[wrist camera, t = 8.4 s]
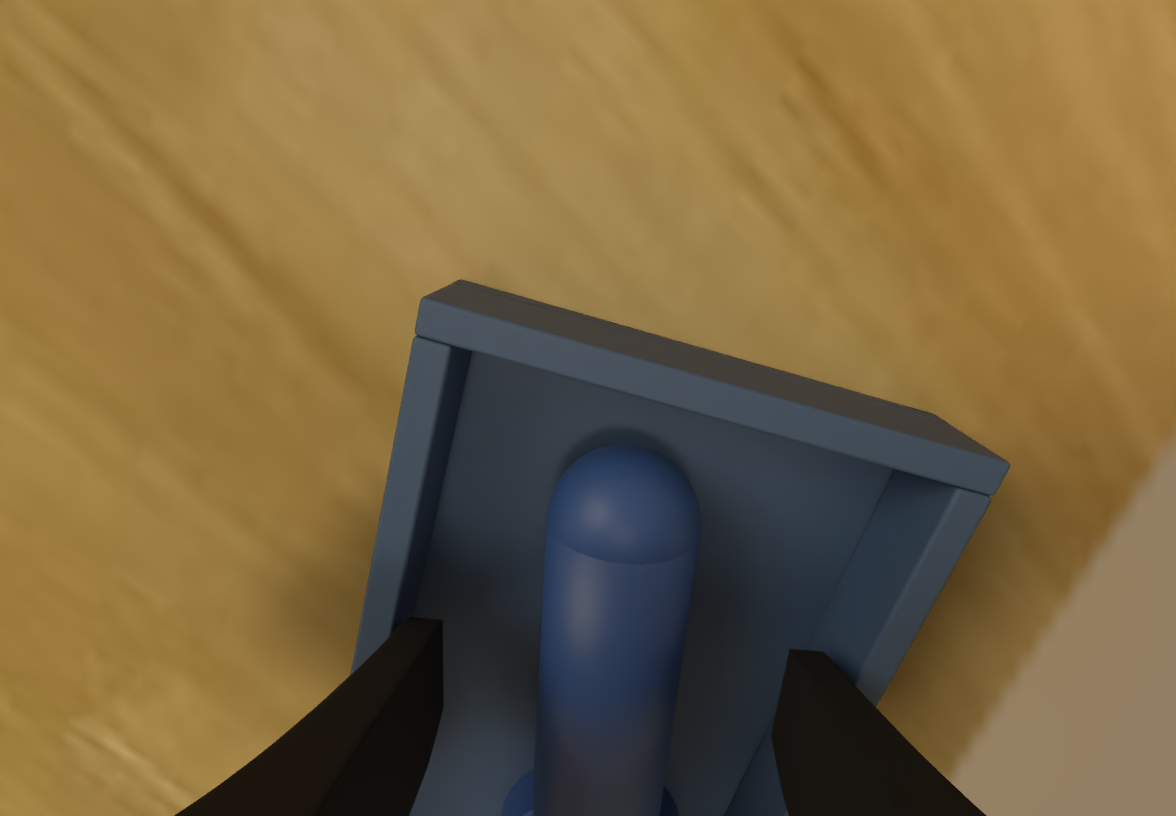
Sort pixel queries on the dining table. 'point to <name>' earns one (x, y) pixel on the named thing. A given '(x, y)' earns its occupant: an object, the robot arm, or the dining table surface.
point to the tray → (727, 542)
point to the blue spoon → (611, 636)
